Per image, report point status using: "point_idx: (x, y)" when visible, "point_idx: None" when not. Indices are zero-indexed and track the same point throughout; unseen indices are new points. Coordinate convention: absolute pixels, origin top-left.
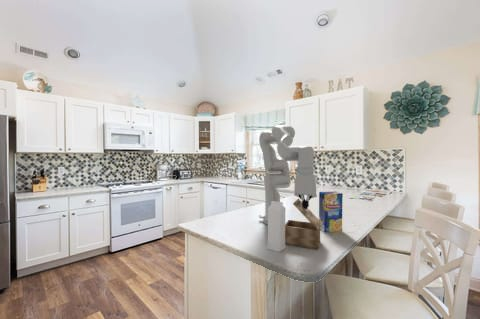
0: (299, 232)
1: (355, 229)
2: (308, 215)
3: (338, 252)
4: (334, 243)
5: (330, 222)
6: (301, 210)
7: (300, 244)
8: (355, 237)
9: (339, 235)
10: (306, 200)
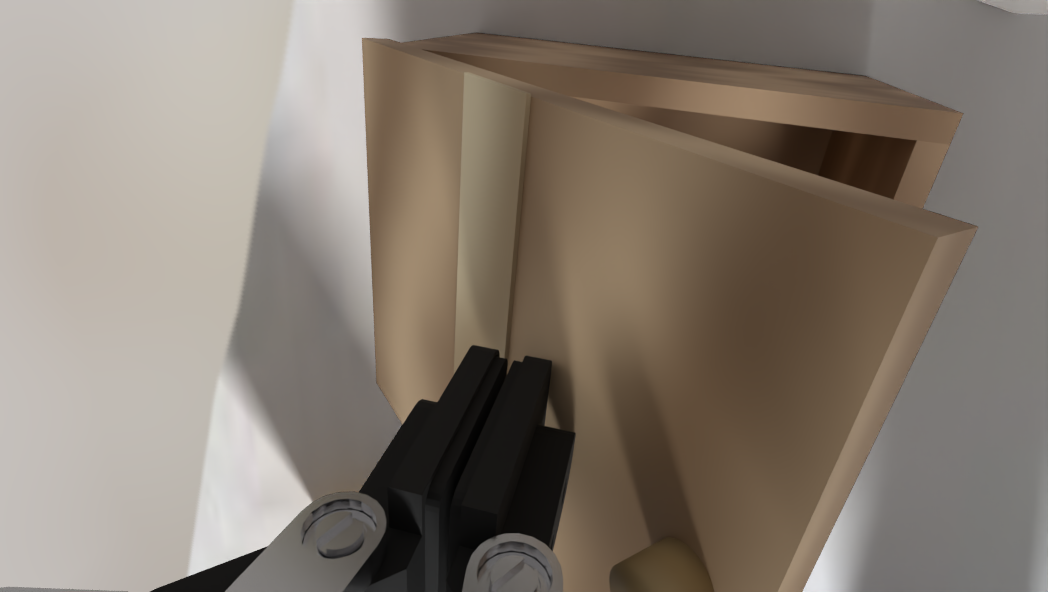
0: (666, 71)
1: (247, 553)
2: (466, 212)
3: (301, 40)
4: (350, 255)
5: None
6: (597, 126)
7: (656, 54)
8: (228, 411)
9: (330, 434)
10: (394, 539)
